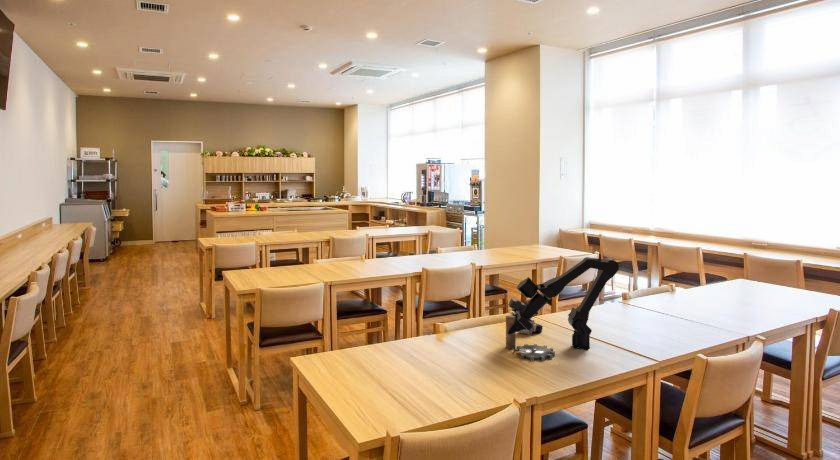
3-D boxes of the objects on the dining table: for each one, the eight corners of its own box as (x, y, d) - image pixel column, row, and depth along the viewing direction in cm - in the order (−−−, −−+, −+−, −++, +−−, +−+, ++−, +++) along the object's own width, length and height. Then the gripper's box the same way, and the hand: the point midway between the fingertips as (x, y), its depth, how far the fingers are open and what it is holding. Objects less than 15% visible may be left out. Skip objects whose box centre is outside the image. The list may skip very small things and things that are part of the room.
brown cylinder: (516, 346, 221) (516, 315, 220) (515, 349, 218) (515, 318, 216) (506, 345, 223) (506, 315, 221) (505, 348, 219) (505, 317, 217)
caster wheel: (539, 334, 245) (542, 338, 235) (515, 329, 247) (516, 332, 237) (542, 320, 245) (545, 323, 235) (518, 314, 247) (519, 317, 237)
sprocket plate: (555, 349, 217) (556, 344, 216) (553, 362, 201) (553, 357, 201) (516, 346, 221) (516, 341, 221) (511, 359, 206) (511, 354, 206)
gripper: (516, 287, 227) (490, 312, 228) (524, 297, 208) (496, 325, 210) (535, 305, 227) (509, 330, 229) (544, 316, 209) (516, 344, 210)
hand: (507, 332), depth 219 cm, fingers closed on brown cylinder, 4 cm apart
